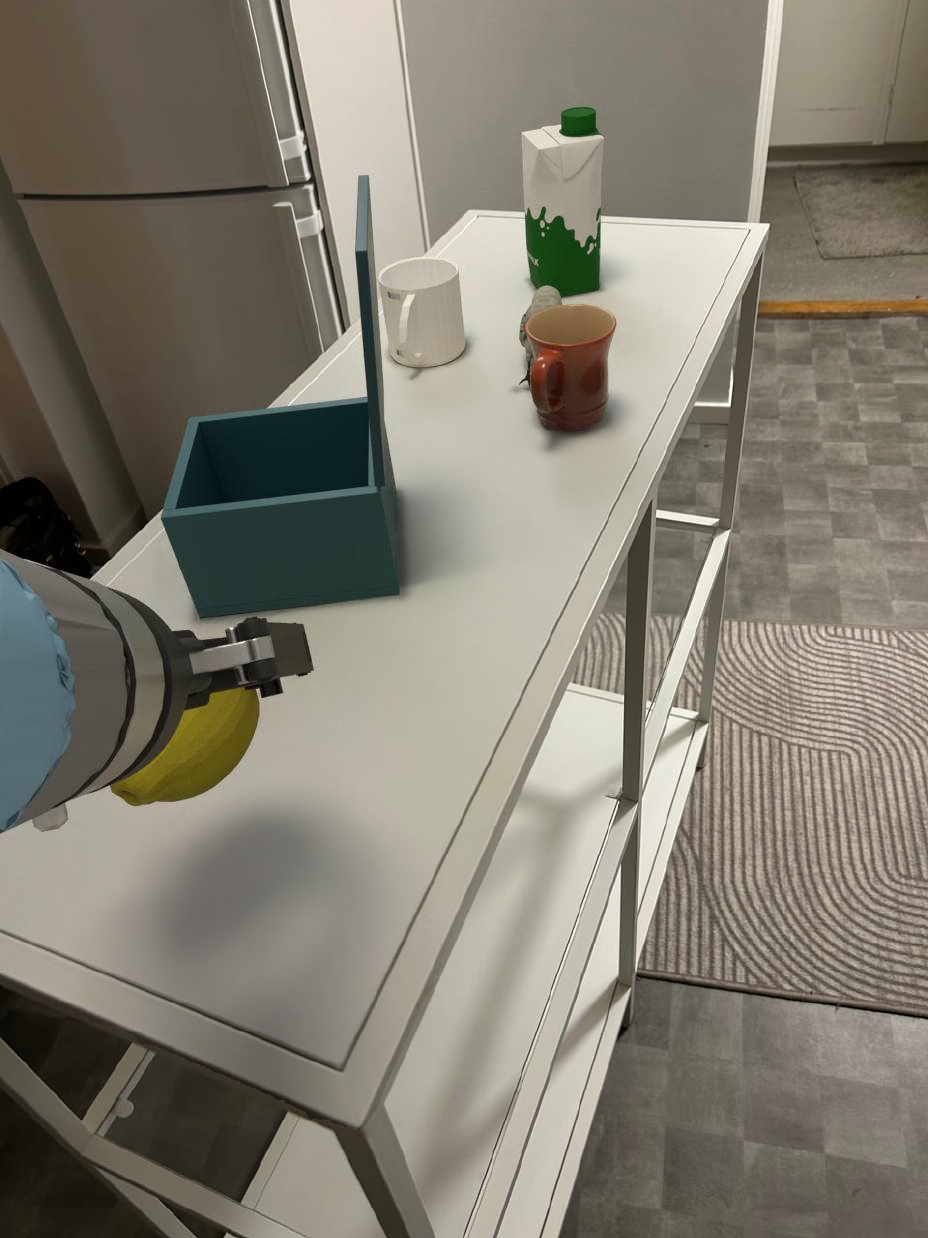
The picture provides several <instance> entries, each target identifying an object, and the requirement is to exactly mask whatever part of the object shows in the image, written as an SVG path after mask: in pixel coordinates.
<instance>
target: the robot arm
mask: <svg viewBox="0 0 928 1238" xmlns="http://www.w3.org/2000/svg"><path fill="white" fill-rule="evenodd" d="M224 632H225V637H215V638H214V637H213V638H206V639H205V638H204V639H200V638H198V637H197V636H196V634H195V632H194V631H192V630H191V629H181V630H179V629H178V630H172V629H171V627H170V626H169V625H168V624H167V623H166V621H165V620H164V619H163V618H162V617H161V616H160V615H158V613H157V612H155V610H153V609H152V608H151V607H149V606H148V605H147V604H145V602H143V601H141V600H139V599H137V598H136V597H134V596H132V595H130V594H128V593H125V592H123V591H120V590H117V589H116V588H115V589H114V588H111V587H108V586H105V585H104V584H102V583H100V582H98V581H97V580H92V579H89V578H86V577H83V576H81V575H80V576H79V575H76V574H73V573H70V572H67V571H64V570H60V569H57V568H54V567H51V566H47V565H45V564H42V563H39V562H36V561H32V560H29V559H26V558H21V557H20V556H17V555H14V554H13V553H10V552H8V551H6V550H4V549H2V548H0V835H2V834H3V833H5V832H9V831H10V830H12V829H15V828H17V827H18V826H20V825H23V824H25V823H27V822H29V821H31V822H32V825H33V828H35V829H36V830H38V831H40V832H41V833H45V832H49V831H54V830H58V829H60V828H61V827H63V826H64V825H65V824H66V823H67V821H69V814H68V808H67V804H66V803H68V802H70V801H72V800H75V799H77V798H80V797H82V796H86V795H90V794H93V793H95V792H98V791H100V790H104V789H106V788H107V787H110V785H112V784H115V783H117V782H119V781H121V780H124V779H126V778H128V777H130V776H132V775H133V774H135V773H137V772H138V771H140V770H141V769H143V768H144V767H146V766H147V765H148V764H149V763H151V762H152V761H153V760H154V759H155V758H156V757H157V756H158V755H159V754H160V753H161V752H162V751H163V749H164V748H165V747H166V746H167V744H168V743H169V741H170V740H171V738H172V737H173V735H174V733H175V731H176V729H177V727H178V725H179V723H180V721H181V718H182V715H183V712H184V711H186V710H190V709H194V708H198V707H202V706H206V705H207V704H208V703H209V699H210V694H212V693H217V692H222V691H227V690H232V689H236V688H241V687H245V690H251V689H256V690H259V693H260V697H261V699H265V698H269V697H274V696H277V695H282V694H284V690H283V685H282V681H281V678H286V677H292V676H296V677H297V678H300V677H301V678H302V677H305V676H308V675H309V674H311V673H312V672H314V671H315V668H314V663H313V658H312V654H311V650H310V645H309V641H308V636H307V632H306V628H305V625H304V623H297V622H274V621H268V618H267V617H258V616H257V615H254V616H250V617H246V618H244V619H243V620H242V622H239V623H237V624H236V625H235V626H230V627H226V628H225V629H224Z"/></svg>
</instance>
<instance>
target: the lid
mask: <svg viewBox="0 0 928 1238" xmlns="http://www.w3.org/2000/svg"><path fill="white" fill-rule="evenodd" d="M370 185H371V184H370V175H369V174H361V175H358V176H357V198H356V218H355V219H356V221H355V245H354V255H355V257H354V258H355V266H356V267H355V268H356V278H357V279H356V280H357V291H358V303H359V317H360V328H361V338H362V351H363V362H364V363H363V364H364V365H363V366H364V376H365V387H366V397H367V400H368V412H369V424H370V436H371V448H372V460H373V472H374V484H375V487H381V486H385V433H384V420H385V385H384V371H383V357H382V356H383V355H382V343H381V329H380V327H381V326H380V313H379V300H378V299H379V298H378V287H377V286H378V285H377V272H376V259H375V257H376V256H375V255H376V254H375V244H374V243H375V241H374V228H373V227H374V226H373V214H372V213H373V212H372V200H371V199H372V198H371V187H370Z"/></svg>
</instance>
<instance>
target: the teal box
mask: <svg viewBox="0 0 928 1238" xmlns="http://www.w3.org/2000/svg"><path fill="white" fill-rule="evenodd" d="M384 433H385V486H381V487H375V484H374V472H373V460H372V448H371V436H370V424H369V412H368V400H367V396H361V397H359V396H358V397H352V398H343V399H342V398H341V399H335V400H326V401H325V400H324V401H319V402H310V403H309V402H308V403H300V404H294V405H293V404H292V405H284V406H276V407H275V406H274V407H269V408H268V407H267V408H259V409H258V408H257V409H251V410H250V409H249V410H241V411H233V412H226V413H218V414H208V415H199V416H192V417H189V418H188V421H187V425H186V428H185V431H184V435H183V440H182V442H181V446H180V449H179V452H178V456H177V459H176V463H175V466H174V469H173V473H172V477H171V480H170V484H169V487H168V490H167V493H166V497H165V501H164V504H163V508H162V511H161V516H160V520H161V523H162V526H163V528H164V531H165V533H166V536H167V538H168V542H169V544H170V546H171V549H172V552H173V554H174V556H175V559H176V561H177V564H178V566H179V570H180V572H181V574H182V577H183V580H184V582H185V584H186V587H187V590H188V593H189V594H190V597H191V600H192V602H193V605H194V608H195V610H196V612H197V615H198V618H199V619H202V618H203V619H205V618H212V617H221V616H229V615H230V616H231V615H237V614H245V613H255V612H264V611H271V610H281V609H289V608H297V607H307V606H315V605H323V604H331V603H340V602H341V603H342V602H348V601H359V600H366V599H375V598H385V597H391V596H399V595H400V594H401V591H400V590H401V588H400V587H401V586H400V553H399V552H400V551H399V548H400V547H399V519H398V491H397V486H396V479H395V473H394V466H393V461H392V456H391V450H390V445H389V444H390V443H389V439H388V438H389V437H388V432H387V426H386V421H385V419H384Z"/></svg>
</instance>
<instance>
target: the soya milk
mask: <svg viewBox="0 0 928 1238" xmlns="http://www.w3.org/2000/svg"><path fill="white" fill-rule="evenodd" d="M520 135H521V136H520V137H521V155H522V156H521V158H522V161H521V162H522V184H523V206H524V207H523V208H524V229H525V231H524V232H525V248H526V249H525V250H526V255H527V263H528V271H529V277H530V278H529V279H530V280H531V282H532V283H533V284H534V286H535V287H536V288H537V290H538V289H539V288H541V287H543V286H546V285H547V286H551V287H554V288H555V289H557V290H558V292H559V294H560V296H561V298H562V297H563V298H564V297H568V296H573V295H578V294H583V293H588V292H589V293H590V292H594V291H598V290H600V281H601V280H600V277H601V276H600V274H601V246H602V245H601V241H602V240H601V239H602V237H601V236H602V235H601V234H602V233H601V232H602V230H601V229H602V166H603V155H604V148H605V147H604V146H605V137H604V136H603V135H602V133H600V132H599V129H598V128H597V109H596V108H593V107H590V106H576V107H575V106H573V107H570V108H566V109H564V110H562V111H561V113H560V124H556V125H546V126H545V125H544V126H542V127H541V128H538V129H531V130H526V131H521V132H520Z"/></svg>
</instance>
